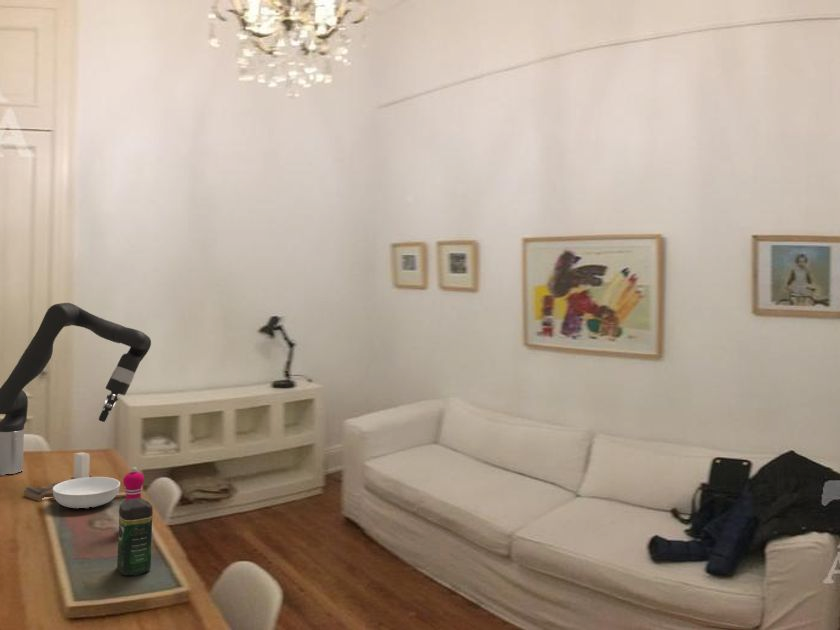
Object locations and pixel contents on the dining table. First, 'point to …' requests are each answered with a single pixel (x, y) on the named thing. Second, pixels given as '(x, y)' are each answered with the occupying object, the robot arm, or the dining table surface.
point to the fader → (81, 465)
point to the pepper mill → (133, 484)
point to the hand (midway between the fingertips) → (101, 420)
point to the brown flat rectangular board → (40, 492)
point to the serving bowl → (86, 491)
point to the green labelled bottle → (134, 536)
